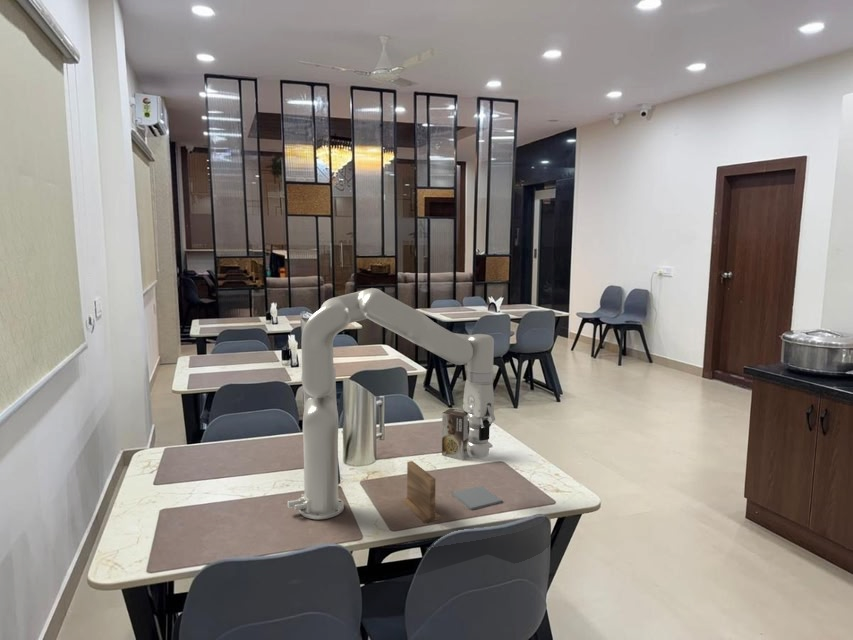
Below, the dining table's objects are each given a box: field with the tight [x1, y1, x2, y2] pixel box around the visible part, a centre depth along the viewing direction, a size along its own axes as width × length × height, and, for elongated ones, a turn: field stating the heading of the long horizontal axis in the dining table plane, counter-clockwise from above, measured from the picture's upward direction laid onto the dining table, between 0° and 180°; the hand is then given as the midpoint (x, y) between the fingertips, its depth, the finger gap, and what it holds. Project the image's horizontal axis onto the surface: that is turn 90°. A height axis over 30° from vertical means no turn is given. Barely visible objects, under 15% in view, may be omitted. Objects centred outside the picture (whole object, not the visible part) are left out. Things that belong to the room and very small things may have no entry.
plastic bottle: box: [467, 405, 490, 459], centre depth 165 cm, size 6×7×20 cm
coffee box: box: [441, 408, 470, 461], centre depth 201 cm, size 9×6×16 cm
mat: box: [450, 485, 503, 511], centre depth 168 cm, size 11×11×1 cm
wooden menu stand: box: [401, 460, 441, 523], centre depth 160 cm, size 5×14×12 cm, turn 28°
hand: (478, 436), depth 166 cm, fingers closed on plastic bottle, 5 cm apart
